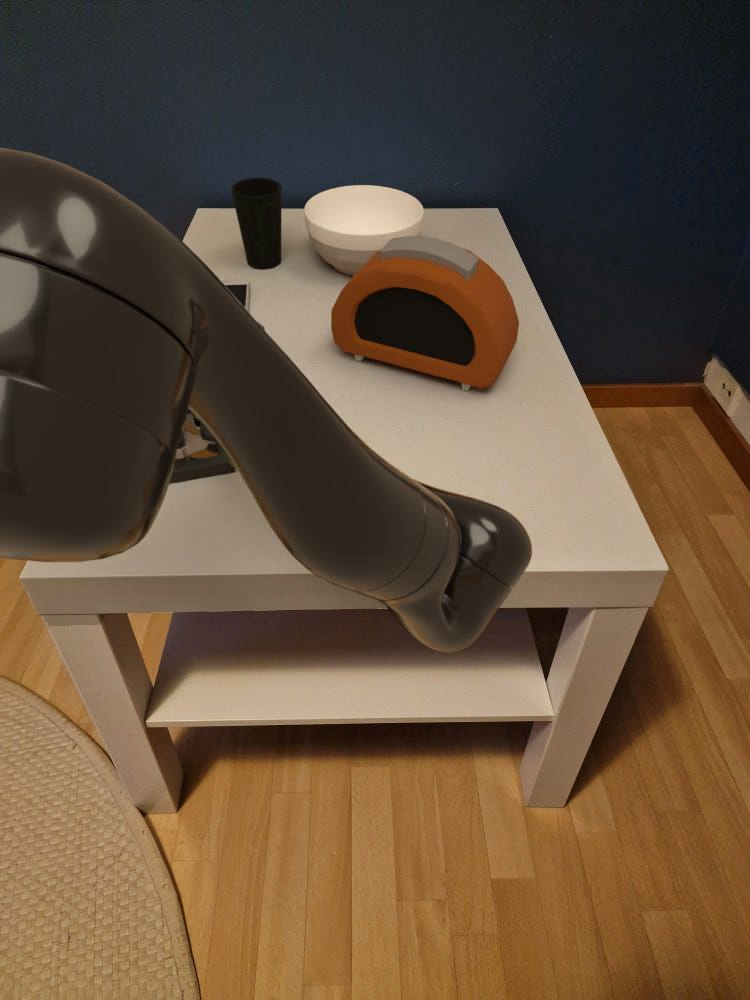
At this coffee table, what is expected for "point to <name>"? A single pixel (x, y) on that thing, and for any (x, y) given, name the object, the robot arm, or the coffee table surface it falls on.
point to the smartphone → (239, 290)
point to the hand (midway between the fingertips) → (174, 368)
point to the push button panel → (201, 468)
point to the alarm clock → (428, 312)
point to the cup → (259, 220)
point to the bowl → (359, 223)
